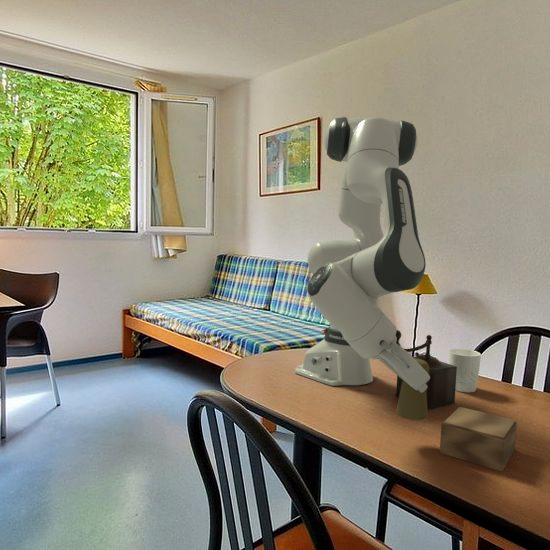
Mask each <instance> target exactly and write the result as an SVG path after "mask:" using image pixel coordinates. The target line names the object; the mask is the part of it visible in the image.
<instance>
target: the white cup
mask: <svg viewBox="0 0 550 550" xmlns="http://www.w3.org/2000/svg"><path fill="white" fill-rule="evenodd" d="M448 353H449V355H448V356H449V357H448V364H450V365H453V366H456V367H457V373H456V388H455V392H459V393H460V392H461V393H474V392H476V390H477V387H478V386H477V385H478V380H479V374H480V366H481V359H482V354H481V353H480V352H479V351H476V350H471V349H467V348H452V349H449V351H448Z"/></svg>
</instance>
